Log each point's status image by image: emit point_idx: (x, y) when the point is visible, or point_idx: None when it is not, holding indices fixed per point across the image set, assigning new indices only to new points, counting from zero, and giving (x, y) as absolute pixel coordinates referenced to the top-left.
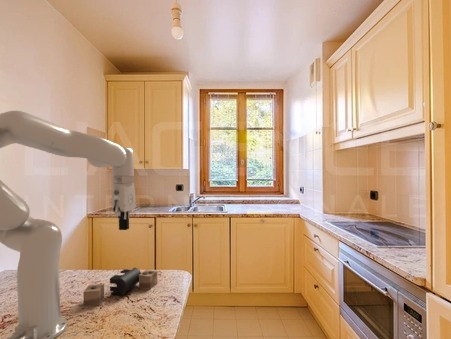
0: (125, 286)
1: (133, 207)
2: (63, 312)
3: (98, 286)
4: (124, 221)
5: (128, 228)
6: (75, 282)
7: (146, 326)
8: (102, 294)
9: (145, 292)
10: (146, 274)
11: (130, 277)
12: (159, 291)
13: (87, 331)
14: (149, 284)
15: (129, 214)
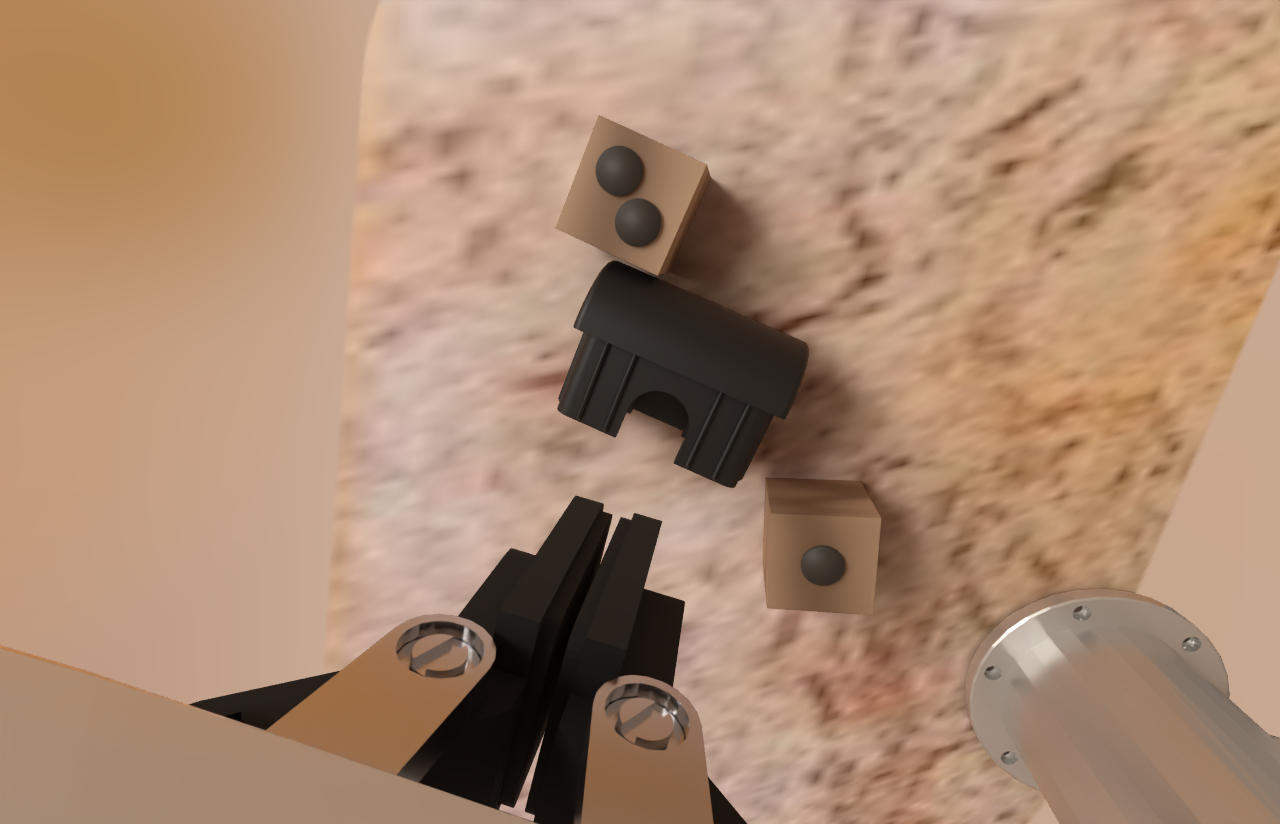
0: (808, 350)
1: (38, 744)
2: (894, 650)
3: (809, 540)
4: (642, 674)
5: (601, 503)
6: None
7: (1250, 116)
8: (804, 492)
9: (754, 209)
10: (658, 207)
11: (731, 332)
12: (763, 97)
13: (1160, 468)
14: (704, 182)
15: (358, 676)
